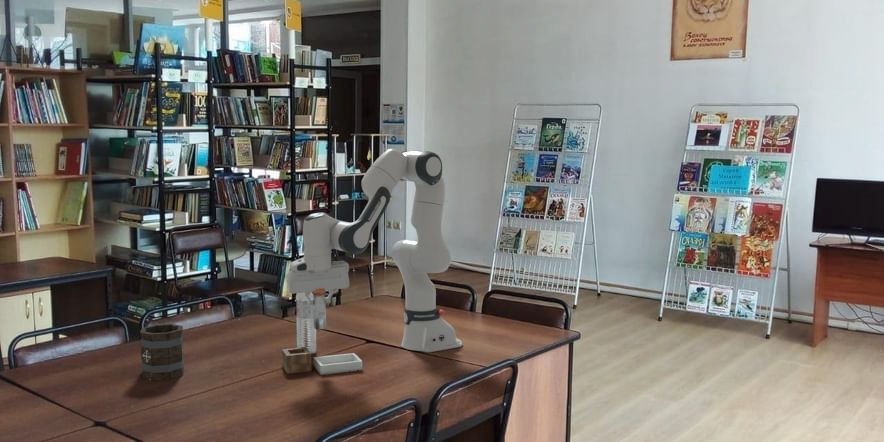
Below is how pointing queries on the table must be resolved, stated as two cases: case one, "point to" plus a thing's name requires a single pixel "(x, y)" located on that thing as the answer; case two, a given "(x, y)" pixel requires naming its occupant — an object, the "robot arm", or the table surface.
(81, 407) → the table surface
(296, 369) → the block
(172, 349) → the mug
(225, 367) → the table surface
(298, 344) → the water bottle
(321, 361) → the tray
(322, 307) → the pin
